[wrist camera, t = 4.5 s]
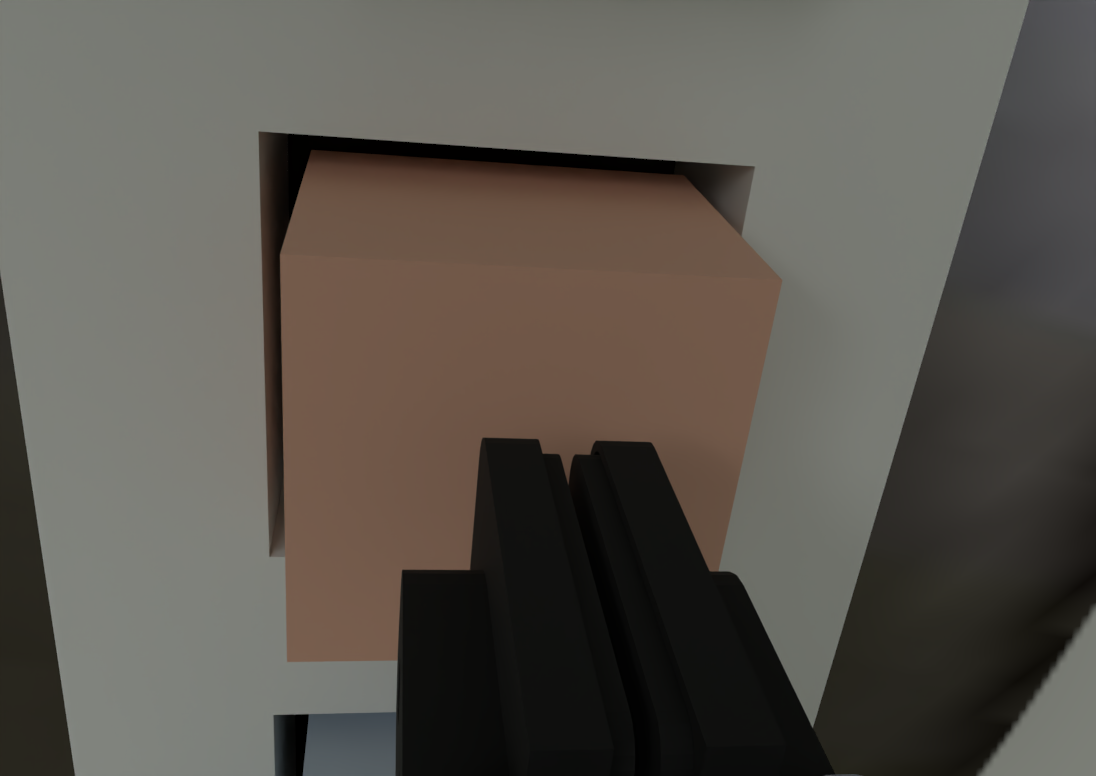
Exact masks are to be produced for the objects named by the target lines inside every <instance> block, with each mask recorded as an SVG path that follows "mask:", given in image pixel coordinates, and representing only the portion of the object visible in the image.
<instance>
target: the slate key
mask: <svg viewBox="0 0 1096 776" xmlns="http://www.w3.org/2000/svg"><path fill="white" fill-rule="evenodd" d="M395 771H396V712H380V713H335V714H309V719H308V729H307V739H306V749H305V758H304V768H303V776H395Z"/></svg>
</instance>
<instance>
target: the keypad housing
mask: <svg viewBox="0 0 1096 776" xmlns="http://www.w3.org/2000/svg"><path fill="white" fill-rule="evenodd" d="M1028 3H1029V0H0V274H1V281H2V287H3V294H4V301H5V307H6V314H7V321H8V328H9V334H10V341H11V348H12V354H13V361H14V368H15V375H16V381H17V388H18V395H19V401H20V408H21V415H22V422H23V428H24V435H25V442H26V448H27V455H28V462H29V469H30V475H31V482H32V489H33V495H34V502H35V509H36V516H37V522H38V529H39V536H40V542H41V549H42V556H43V563H44V569H45V576H46V583H47V589H48V596H49V603H50V610H51V616H52V623H53V630H54V636H55V643H56V650H57V657H58V663H59V670H60V677H61V683H62V690H63V697H64V704H65V710H66V717H67V724H68V730H69V737H70V744H71V751H72V757H73V764H74V771H75V776H296V725H295V714H335V713H380V712H396V696H397V662H398V660H397V661H325V662H287V635H286V576H285V517H284V459H283V400H282V342H281V283H280V253H281V249H282V246H283V243H284V239H285V236H286V233H287V229H288V226H289V171H288V133H289V134H304V135H318V136H332V137H346V138H360V139H374V140H388V141H402V142H416V143H430V144H445V145H459V146H473V147H487V148H501V149H515V150H529V151H543V152H557V153H572V154H586V155H600V156H614V157H628V158H642V159H656V160H670V161H676V162H675V168H674V175H684V176H685V177H686V178H687V179H688V180H689V181H690V182H691V184H692V185H693V186H694V187H695V188H696V189H697V190H698V191H699V192H700V193H701V194H702V195H703V196H704V197H705V198H706V199H707V201H708V202H709V203H710V204H711V205H712V206H713V207H714V208H715V209H716V210H717V211H718V212H719V213H720V214H721V215H722V216H723V217H724V219H725V220H726V221H727V222H728V223H729V224H730V225H731V226H732V227H733V228H734V229H735V230H736V231H737V232H738V233H739V234H740V236H741V237H742V238H743V239H744V240H745V241H746V242H747V243H748V244H749V245H750V246H751V247H752V248H753V249H754V250H755V251H756V253H757V254H758V255H759V256H760V257H761V258H762V259H763V260H764V261H765V262H766V263H767V264H768V265H769V266H770V267H771V268H772V270H773V271H774V272H775V273H776V274H777V275H778V276H779V277H780V278H781V279H782V285H781V289H780V294H779V298H778V303H777V307H776V312H775V316H774V321H773V326H772V330H771V335H770V339H769V344H768V348H767V353H766V357H765V362H764V366H763V371H762V375H761V380H760V385H759V389H758V394H757V398H756V403H755V407H754V412H753V416H752V421H751V425H750V430H749V434H748V439H747V444H746V448H745V453H744V457H743V462H742V466H741V471H740V475H739V480H738V484H737V489H736V493H735V498H734V503H733V507H732V512H731V516H730V521H729V525H728V530H727V534H726V539H725V543H724V548H723V553H722V557H721V562H720V566H719V571H730V572H732V573H734V574H736V575H737V576H738V577H739V579H740V580H741V582H742V583H743V585H744V587H745V589H746V591H747V593H748V595H749V597H750V599H751V601H752V603H753V605H754V608H755V610H756V612H757V614H758V616H759V618H760V620H761V622H762V624H763V626H764V628H765V630H766V632H767V634H768V637H769V639H770V641H771V643H772V645H773V647H774V649H775V651H776V653H777V655H778V657H779V659H780V661H781V663H782V665H783V668H784V670H785V672H786V674H787V676H788V678H789V680H790V682H791V684H792V686H793V688H794V690H795V692H796V694H797V696H798V699H799V701H800V703H801V705H802V707H803V709H804V711H805V713H806V715H807V717H808V719H809V721H810V723H811V725H812V728H813V726H814V722H815V719H816V716H817V712H818V709H819V706H820V702H821V699H822V695H823V692H824V689H825V685H826V682H827V679H828V675H829V672H830V669H831V665H832V662H833V658H834V655H835V652H836V648H837V645H838V642H839V638H840V635H841V632H842V628H843V625H844V621H845V618H846V615H847V611H848V608H849V605H850V601H851V598H852V595H853V591H854V588H855V585H856V581H857V578H858V574H859V571H860V568H861V564H862V561H863V558H864V554H865V551H866V548H867V544H868V541H869V537H870V534H871V531H872V527H873V524H874V521H875V517H876V514H877V511H878V507H879V504H880V501H881V497H882V494H883V490H884V487H885V484H886V480H887V477H888V474H889V470H890V467H891V464H892V460H893V457H894V453H895V450H896V447H897V443H898V440H899V437H900V433H901V430H902V427H903V423H904V420H905V417H906V413H907V410H908V406H909V403H910V400H911V396H912V393H913V390H914V386H915V383H916V380H917V376H918V373H919V369H920V366H921V363H922V359H923V356H924V353H925V349H926V346H927V343H928V339H929V336H930V332H931V329H932V326H933V322H934V319H935V316H936V312H937V309H938V306H939V302H940V299H941V296H942V292H943V289H944V285H945V282H946V279H947V275H948V272H949V269H950V265H951V262H952V259H953V255H954V252H955V248H956V245H957V242H958V238H959V235H960V232H961V228H962V225H963V222H964V218H965V215H966V212H967V208H968V205H969V201H970V198H971V195H972V191H973V188H974V185H975V181H976V178H977V175H978V171H979V168H980V164H981V161H982V158H983V154H984V151H985V148H986V144H987V141H988V138H989V134H990V131H991V128H992V124H993V121H994V117H995V114H996V111H997V107H998V104H999V101H1000V97H1001V94H1002V91H1003V87H1004V84H1005V80H1006V77H1007V74H1008V70H1009V67H1010V64H1011V60H1012V57H1013V54H1014V50H1015V47H1016V44H1017V40H1018V37H1019V33H1020V30H1021V27H1022V23H1023V20H1024V17H1025V13H1026V10H1027V7H1028Z"/></svg>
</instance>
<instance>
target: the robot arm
mask: <svg viewBox="0 0 1096 776" xmlns="http://www.w3.org/2000/svg"><path fill="white" fill-rule="evenodd" d="M395 776H861V775H856V774H845V775H835V773H834V771H833V769H832V767H831V765H830V763H829V761H828V759H827V756H826V754H825V752H824V750H823V748H822V746H821V744H820V742H819V740H818V738H817V736H816V734H815V732H814V730H813V728H812V725H811V723H810V721H809V719H808V717H807V715H806V713H805V711H804V709H803V707H802V705H801V703H800V701H799V699H798V696H797V694H796V692H795V690H794V688H793V686H792V684H791V682H790V680H789V678H788V676H787V674H786V672H785V670H784V668H783V665H782V663H781V661H780V659H779V657H778V655H777V653H776V651H775V649H774V647H773V645H772V643H771V641H770V639H769V637H768V634H767V632H766V630H765V628H764V626H763V624H762V622H761V620H760V618H759V616H758V614H757V612H756V610H755V608H754V605H753V603H752V601H751V599H750V597H749V595H748V593H747V591H746V589H745V587H744V585H743V583H742V582H741V580H740V579H739V577H738V576H737V575H736V574H734V573H732V572H730V571H709V569H708V566H707V564H706V562H705V560H704V557H703V555H702V553H701V551H700V548H699V546H698V544H697V542H696V539H695V537H694V535H693V533H692V530H691V528H690V526H689V524H688V521H687V519H686V517H685V515H684V512H683V510H682V508H681V506H680V503H679V501H678V499H677V497H676V494H675V492H674V490H673V488H672V485H671V483H670V481H669V479H668V476H667V474H666V472H665V470H664V467H663V465H662V463H661V461H660V458H659V456H658V454H657V452H656V449H655V447H654V446H653V444H652V443H651V442H633V441H595V443H594V444H593V447H592V450H591V454H590V455H583V454H575V455H574V457H573V459H572V463H571V469H570V476H569V484H568V482H567V478H566V474H565V471H564V467H563V463H562V460H561V457H560V454H543V453H542V449H541V445H540V442H539V439H520V438H482V441H481V446H480V455H479V465H478V478H477V490H476V502H475V514H474V526H473V538H472V550H471V562H470V570H402V576H401V592H400V613H399V635H398V662H397V696H396V771H395Z"/></svg>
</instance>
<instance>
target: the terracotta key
mask: <svg viewBox="0 0 1096 776" xmlns="http://www.w3.org/2000/svg"><path fill="white" fill-rule="evenodd" d="M280 283H281V342H282V400H283V459H284V517H285V576H286V635H287V662H325V661H397V660H398V635H399V613H400V592H401V576H402V570H470V562H471V550H472V538H473V526H474V514H475V502H476V490H477V478H478V465H479V455H480V446H481V441H482V438H520V439H539V442H540V445H541V449H542V453H543V454H560V457H561V460H562V463H563V467H564V471H565V474H566V478H567V482H568V484H569V476H570V469H571V463H572V459H573V457H574V455H575V454H583V455H590V454H591V450H592V447H593V444H594V443H595V441H633V442H651V443H652V444H653V446H654V447H655V449H656V452H657V454H658V456H659V458H660V461H661V463H662V465H663V467H664V470H665V472H666V474H667V476H668V479H669V481H670V483H671V485H672V488H673V490H674V492H675V494H676V497H677V499H678V501H679V503H680V506H681V508H682V510H683V512H684V515H685V517H686V519H687V521H688V524H689V526H690V528H691V530H692V533H693V535H694V537H695V539H696V542H697V544H698V546H699V548H700V551H701V553H702V555H703V557H704V560H705V562H706V564H707V566H708V569H709V571H719V566H720V562H721V557H722V553H723V548H724V543H725V539H726V534H727V530H728V525H729V521H730V516H731V512H732V507H733V503H734V498H735V493H736V489H737V484H738V480H739V475H740V471H741V466H742V462H743V457H744V453H745V448H746V444H747V439H748V434H749V430H750V425H751V421H752V416H753V412H754V407H755V403H756V398H757V394H758V389H759V385H760V380H761V375H762V371H763V366H764V362H765V357H766V353H767V348H768V344H769V339H770V335H771V330H772V326H773V321H774V316H775V312H776V307H777V303H778V298H779V294H780V289H781V285H782V279H781V278H780V277H779V276H778V275H777V274H776V273H775V272H774V271H773V270H772V268H771V267H770V266H769V265H768V264H767V263H766V262H765V261H764V260H763V259H762V258H761V257H760V256H759V255H758V254H757V253H756V251H755V250H754V249H753V248H752V247H751V246H750V245H749V244H748V243H747V242H746V241H745V240H744V239H743V238H742V237H741V236H740V234H739V233H738V232H737V231H736V230H735V229H734V228H733V227H732V226H731V225H730V224H729V223H728V222H727V221H726V220H725V219H724V217H723V216H722V215H721V214H720V213H719V212H718V211H717V210H716V209H715V208H714V207H713V206H712V205H711V204H710V203H709V202H708V201H707V199H706V198H705V197H704V196H703V195H702V194H701V193H700V192H699V191H698V190H697V189H696V188H695V187H694V186H693V185H692V184H691V182H690V181H689V180H688V179H687V178H686V177H685V176H684V175H672V174H657V173H643V172H628V171H613V170H599V169H584V168H570V167H555V166H540V165H526V164H511V163H497V162H482V161H467V160H453V159H438V158H424V157H409V156H394V155H380V154H365V153H351V152H336V151H321V150H311V153H310V156H309V159H308V163H307V166H306V169H305V173H304V176H303V179H302V183H301V186H300V189H299V193H298V196H297V199H296V203H295V206H294V209H293V213H292V216H291V219H290V223H289V226H288V229H287V233H286V236H285V239H284V243H283V246H282V249H281V253H280Z"/></svg>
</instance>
